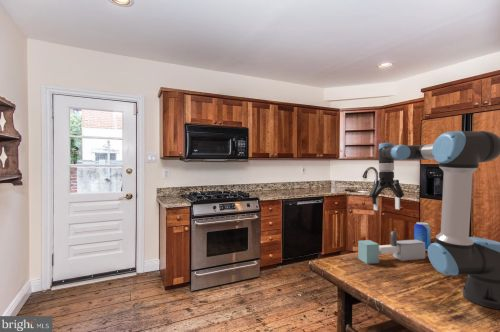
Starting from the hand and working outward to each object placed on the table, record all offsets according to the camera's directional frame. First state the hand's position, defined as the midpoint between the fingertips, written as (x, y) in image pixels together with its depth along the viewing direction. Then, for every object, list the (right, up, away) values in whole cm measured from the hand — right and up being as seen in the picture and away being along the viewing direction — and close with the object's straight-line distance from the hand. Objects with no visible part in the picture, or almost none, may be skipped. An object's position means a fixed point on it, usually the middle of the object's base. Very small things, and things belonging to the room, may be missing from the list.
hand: (386, 209), depth 150 cm
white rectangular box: (+13, -27, +2) cm, 30 cm away
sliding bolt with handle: (+7, -23, +1) cm, 25 cm away
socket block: (-11, -27, -2) cm, 30 cm away
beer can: (+30, -27, +16) cm, 44 cm away
